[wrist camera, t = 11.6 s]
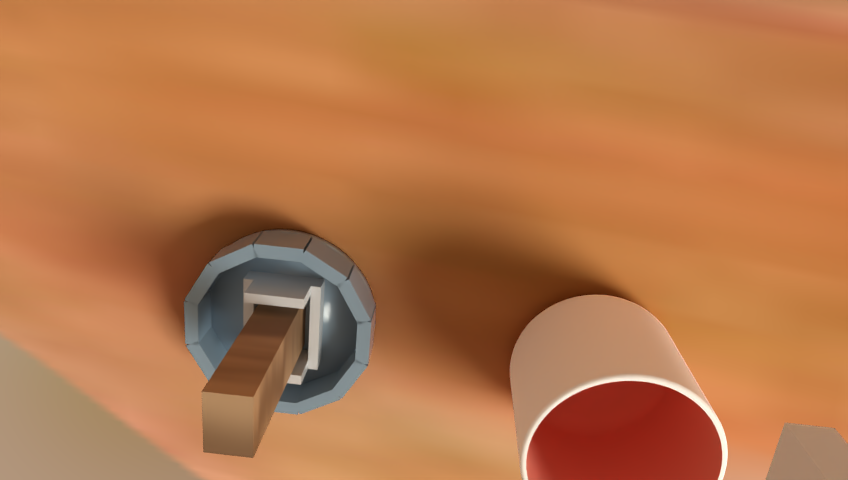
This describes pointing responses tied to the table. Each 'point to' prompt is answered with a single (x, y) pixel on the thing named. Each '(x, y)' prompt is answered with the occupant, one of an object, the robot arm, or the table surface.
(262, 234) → the blue bowl
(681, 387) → the cup
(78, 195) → the table surface
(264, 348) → the wooden rectangular block
